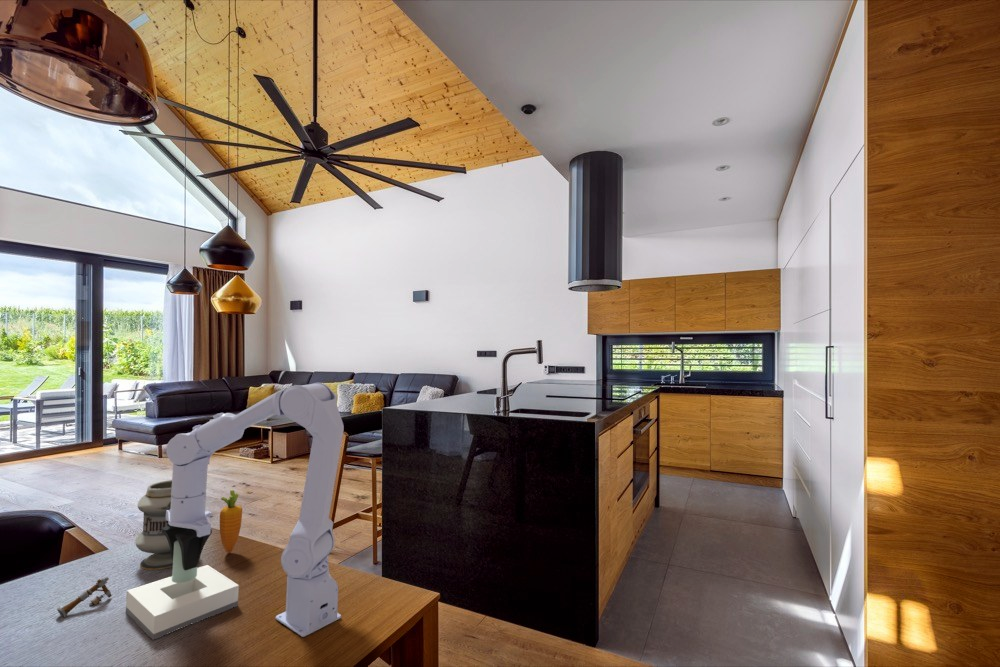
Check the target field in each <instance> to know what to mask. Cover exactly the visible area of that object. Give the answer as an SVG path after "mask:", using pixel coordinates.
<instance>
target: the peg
mask: <svg viewBox="0 0 1000 667" xmlns="http://www.w3.org/2000/svg"><path fill="white" fill-rule="evenodd" d="M197 568H198V566H197V567H195V568H192V569H189V570H186V571H185V570H184V569H183V565H182V553H181V548H180V545H179V542H178V540H177V541H175V542H174V554H173V567H172V571H171V573H172V574H171V576H172V582H175V583H182V582H187V581H190V580H192V579H194V578H195V577H196V576H197Z"/></svg>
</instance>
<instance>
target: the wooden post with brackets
mask: <svg viewBox="0 0 1000 667" xmlns="http://www.w3.org/2000/svg"><path fill="white" fill-rule="evenodd" d="M108 581H109V577H108V576H107V577H101V579H98V580H97V581H96V582H95V584H94V585H92V587H90V588H87V590H86V591H83V593H81V594H80V595H79V596H78V597H77V598H76V599H73V600H72V601H71V602H68V604H66V605H65V606H63V607H57V608H56V610H57V611H58V613H59V615H60V616H63V617H65V619H66V618H67V617H68V614H69V613H70V612H71V611H72V610H73V609H74V608H75V607H77V606H78V605H79V604H80V603H82V602H84V601H85V600H86V599H88V598H90V596H92V595H93V594H94V593H95V592H96V591H97V592H98V591H99V592H103V593H104V594H100V596H97V595H96V596H95V598H93V599H91V600H90V603H89V607H93V606H96V605H97V604H99V603H100V602H102V599H103V598H105V596H107V597H108V598H110V597H113V594H112V592H111V591H110V590H109V588H108V587H107V586H106V584H107V583H108ZM99 588H100V589H99Z"/></svg>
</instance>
